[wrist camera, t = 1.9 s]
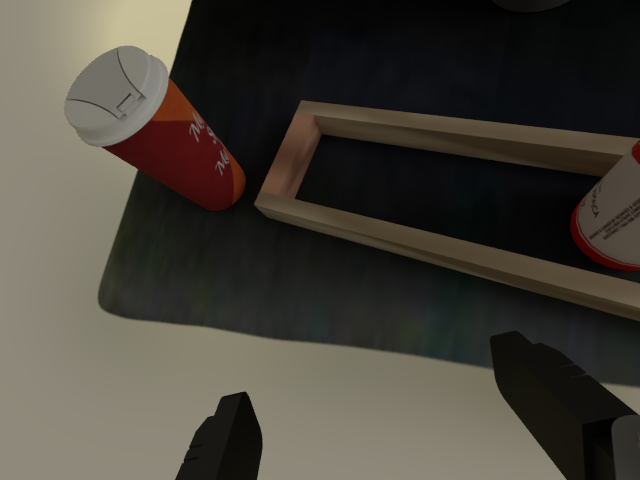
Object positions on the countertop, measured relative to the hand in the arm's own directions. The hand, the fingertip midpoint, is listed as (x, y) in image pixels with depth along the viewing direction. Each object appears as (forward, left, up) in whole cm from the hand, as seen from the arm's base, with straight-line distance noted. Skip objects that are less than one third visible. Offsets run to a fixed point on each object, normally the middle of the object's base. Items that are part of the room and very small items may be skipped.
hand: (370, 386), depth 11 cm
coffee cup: (-11, -24, -16) cm, 31 cm away
